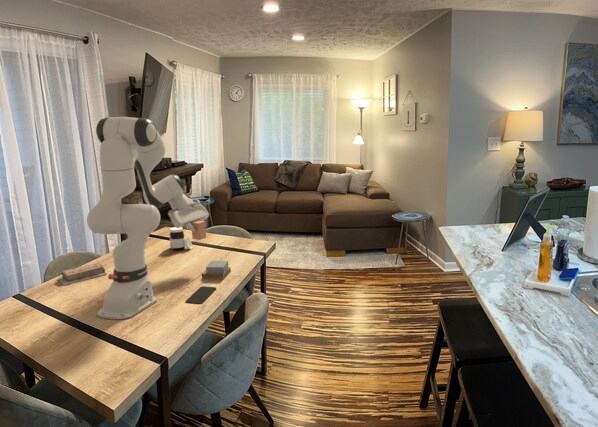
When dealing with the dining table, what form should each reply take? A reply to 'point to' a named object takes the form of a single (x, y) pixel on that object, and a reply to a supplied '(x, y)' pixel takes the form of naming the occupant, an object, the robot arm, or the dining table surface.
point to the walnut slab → (216, 275)
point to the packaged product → (82, 273)
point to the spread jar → (179, 239)
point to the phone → (200, 295)
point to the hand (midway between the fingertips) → (199, 229)
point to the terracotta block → (199, 230)
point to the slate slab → (217, 267)
